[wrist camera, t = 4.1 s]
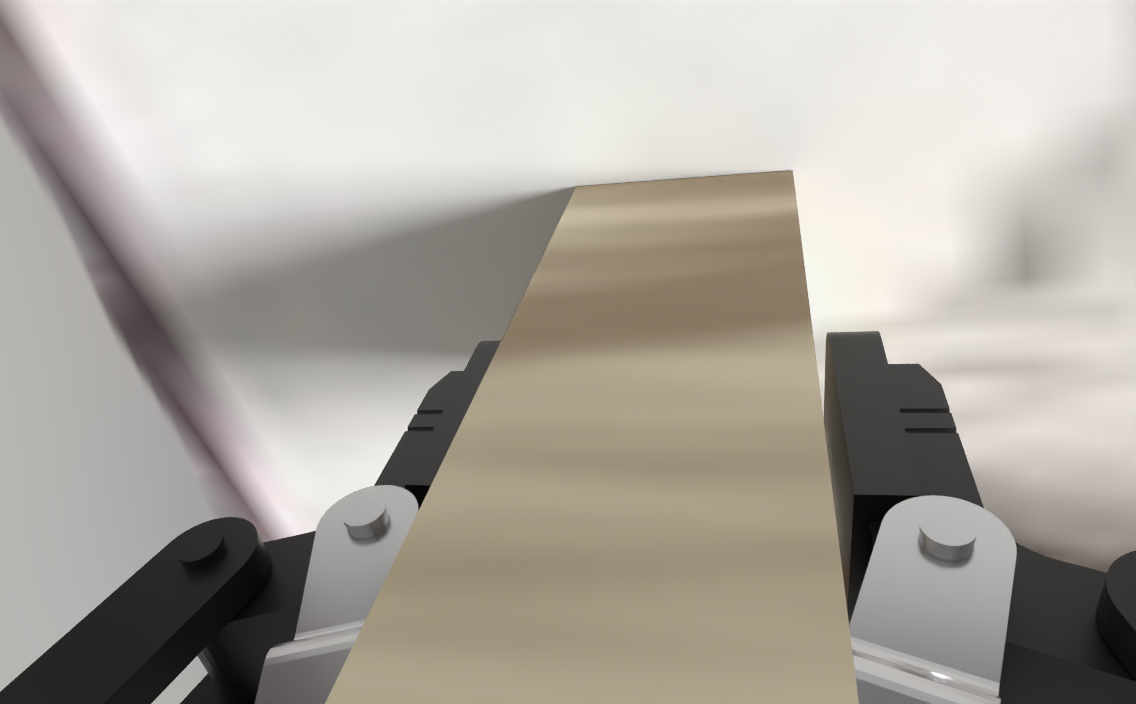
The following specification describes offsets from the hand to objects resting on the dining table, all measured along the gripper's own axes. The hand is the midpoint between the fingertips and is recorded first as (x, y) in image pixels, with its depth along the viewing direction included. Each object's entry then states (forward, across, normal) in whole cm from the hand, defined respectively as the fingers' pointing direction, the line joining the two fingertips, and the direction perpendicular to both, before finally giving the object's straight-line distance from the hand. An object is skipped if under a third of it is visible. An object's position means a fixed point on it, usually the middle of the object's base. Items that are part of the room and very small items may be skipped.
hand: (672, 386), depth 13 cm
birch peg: (+4, 0, 0) cm, 4 cm away
